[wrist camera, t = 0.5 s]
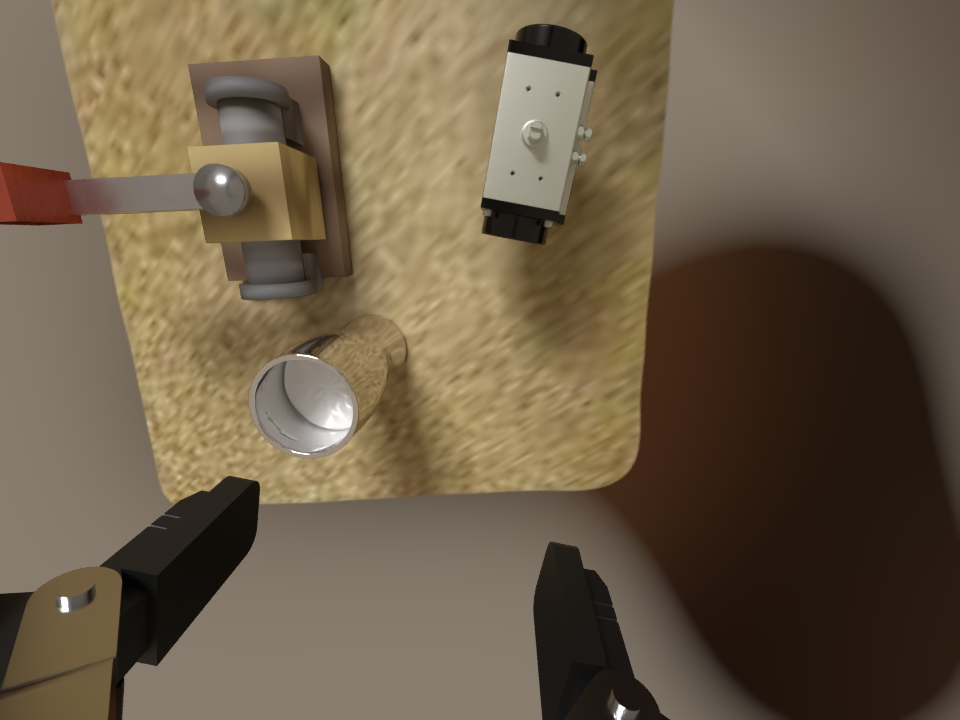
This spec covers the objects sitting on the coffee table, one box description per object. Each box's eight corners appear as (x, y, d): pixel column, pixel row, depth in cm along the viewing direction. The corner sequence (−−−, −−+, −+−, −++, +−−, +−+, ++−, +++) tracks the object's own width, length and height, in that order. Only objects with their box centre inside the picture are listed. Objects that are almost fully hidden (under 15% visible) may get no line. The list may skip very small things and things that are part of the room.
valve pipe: (205, 74, 35) (101, 16, 26) (329, 65, 35) (266, 3, 26) (243, 290, 40) (166, 305, 31) (354, 286, 39) (308, 300, 30)
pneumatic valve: (483, 234, 38) (475, 232, 26) (510, 78, 34) (515, -3, 23) (548, 246, 38) (568, 249, 26) (581, 92, 34) (621, 17, 23)
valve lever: (248, 165, 28) (198, 150, 23) (256, 216, 28) (209, 211, 24) (27, 177, 28) (-62, 165, 24) (41, 226, 29) (-43, 223, 25)
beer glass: (390, 297, 39) (325, 331, 25) (424, 367, 41) (382, 437, 26) (322, 328, 40) (221, 378, 26) (358, 395, 42) (282, 478, 27)
